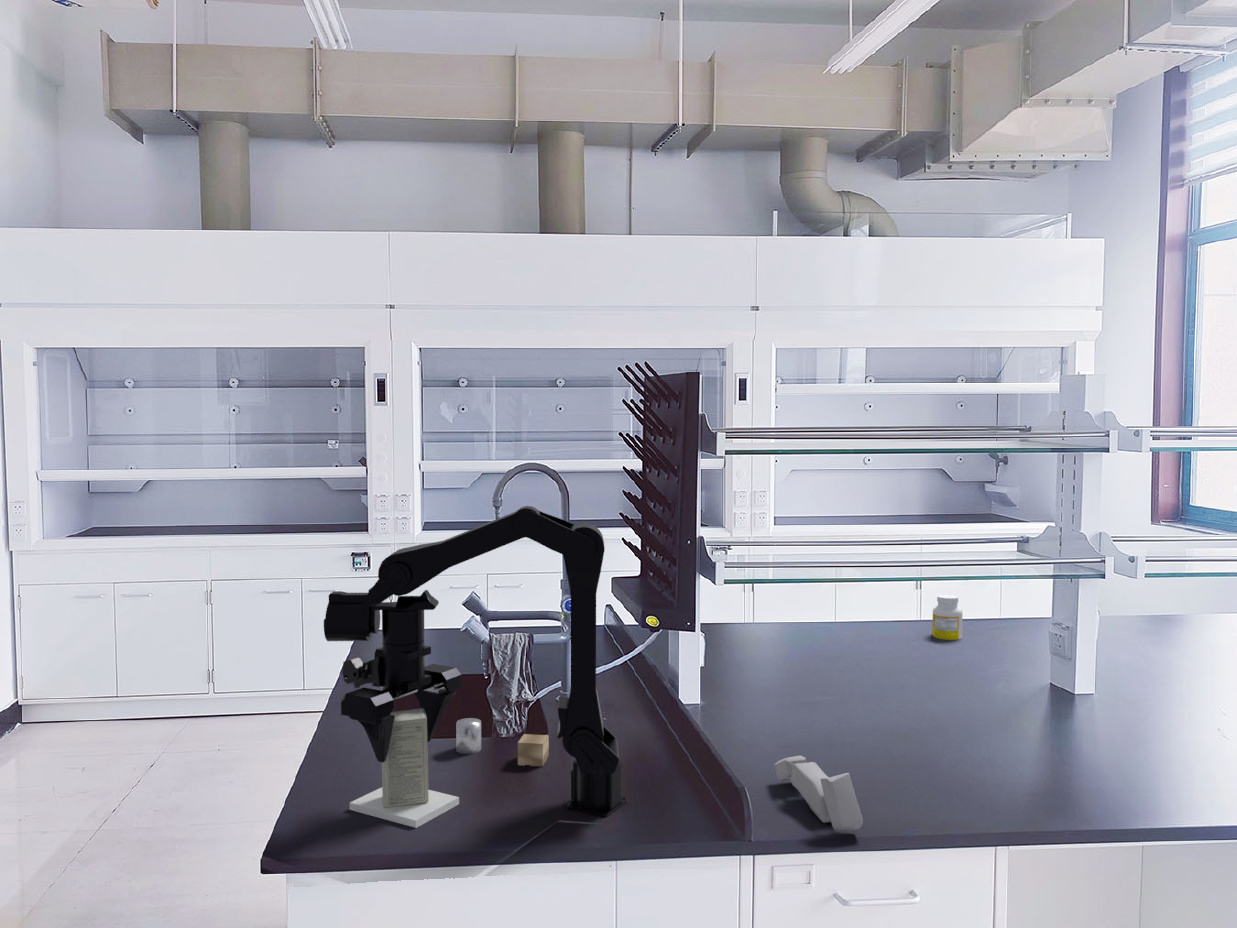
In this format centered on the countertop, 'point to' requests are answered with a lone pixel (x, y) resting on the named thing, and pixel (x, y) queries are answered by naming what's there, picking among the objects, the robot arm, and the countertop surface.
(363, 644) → the countertop surface
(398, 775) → the skincare box
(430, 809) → the grey mat
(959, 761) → the countertop surface
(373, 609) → the robot arm
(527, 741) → the oak block
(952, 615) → the supplement bottle
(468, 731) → the metal cylinder
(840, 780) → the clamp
